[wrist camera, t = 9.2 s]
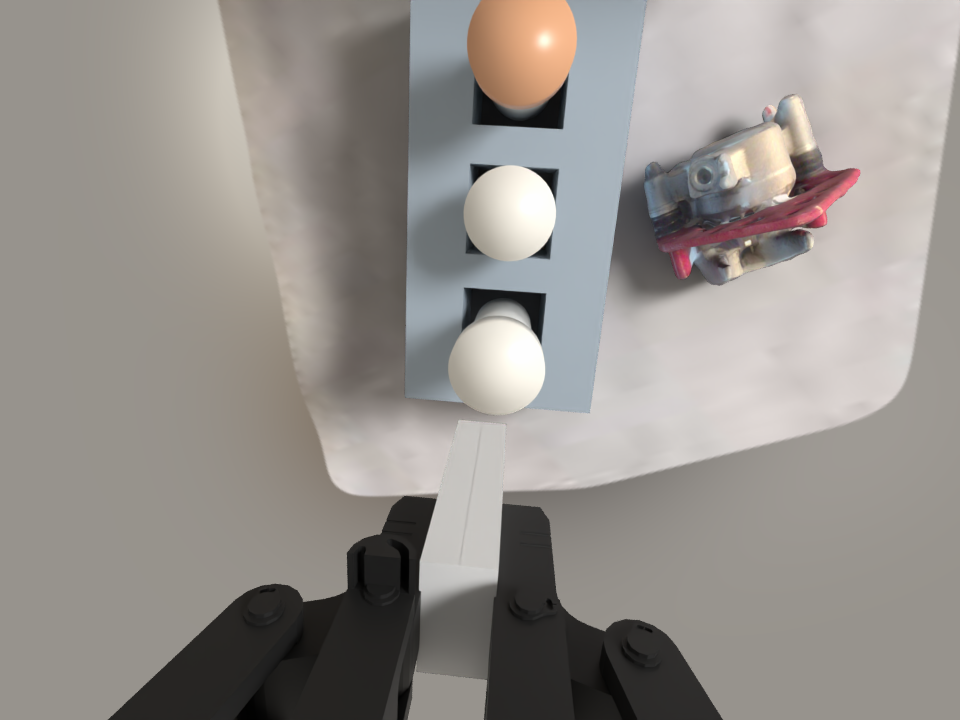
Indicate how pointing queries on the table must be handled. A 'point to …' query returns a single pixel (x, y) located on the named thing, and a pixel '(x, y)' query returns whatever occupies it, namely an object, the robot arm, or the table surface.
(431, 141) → the blue peg holder block
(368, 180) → the table surface
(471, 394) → the cream plunger
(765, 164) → the brake caliper
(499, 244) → the cream plunger
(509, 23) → the peach ball knob
